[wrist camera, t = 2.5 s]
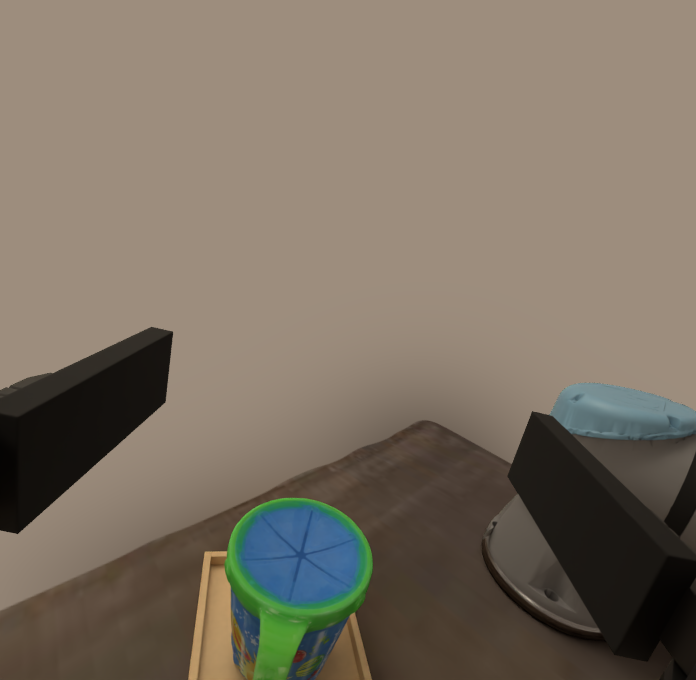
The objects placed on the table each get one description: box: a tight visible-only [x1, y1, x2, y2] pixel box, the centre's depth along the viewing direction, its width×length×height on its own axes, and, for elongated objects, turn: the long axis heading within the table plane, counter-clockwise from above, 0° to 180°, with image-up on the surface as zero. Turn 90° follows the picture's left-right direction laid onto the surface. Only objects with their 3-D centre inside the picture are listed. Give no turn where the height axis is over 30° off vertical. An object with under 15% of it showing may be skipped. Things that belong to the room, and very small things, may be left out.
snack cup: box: [224, 498, 373, 680], centre depth 31 cm, size 16×10×10 cm
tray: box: [188, 552, 372, 680], centre depth 32 cm, size 13×17×1 cm
